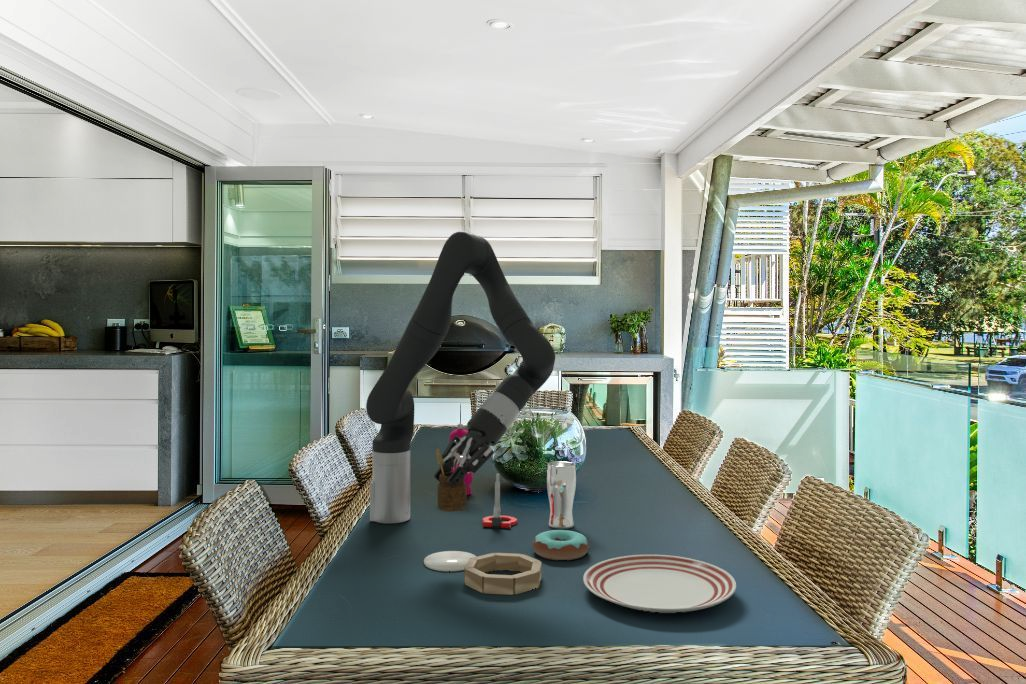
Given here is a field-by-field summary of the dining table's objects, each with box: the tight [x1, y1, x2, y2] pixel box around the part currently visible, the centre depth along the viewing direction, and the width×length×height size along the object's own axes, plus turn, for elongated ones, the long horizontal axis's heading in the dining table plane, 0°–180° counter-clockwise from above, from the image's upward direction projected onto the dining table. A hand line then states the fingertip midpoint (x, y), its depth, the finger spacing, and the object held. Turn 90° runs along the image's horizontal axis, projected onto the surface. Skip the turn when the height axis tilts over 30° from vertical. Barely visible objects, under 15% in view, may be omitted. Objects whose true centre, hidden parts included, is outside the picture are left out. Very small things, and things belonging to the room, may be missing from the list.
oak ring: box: [463, 552, 543, 596], centre depth 145 cm, size 14×14×3 cm
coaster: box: [423, 550, 478, 572], centre depth 155 cm, size 11×11×1 cm
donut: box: [532, 529, 590, 561], centre depth 162 cm, size 12×12×4 cm
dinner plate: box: [582, 554, 737, 614], centre depth 139 cm, size 27×27×3 cm
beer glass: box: [546, 460, 577, 530], centre depth 182 cm, size 7×7×15 cm
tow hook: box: [482, 473, 518, 529], centre depth 184 cm, size 8×13×9 cm
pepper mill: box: [449, 423, 474, 496], centre depth 214 cm, size 7×7×20 cm
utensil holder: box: [435, 448, 467, 512], centre depth 155 cm, size 6×6×12 cm
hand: (443, 481), depth 154 cm, fingers closed on utensil holder, 5 cm apart
